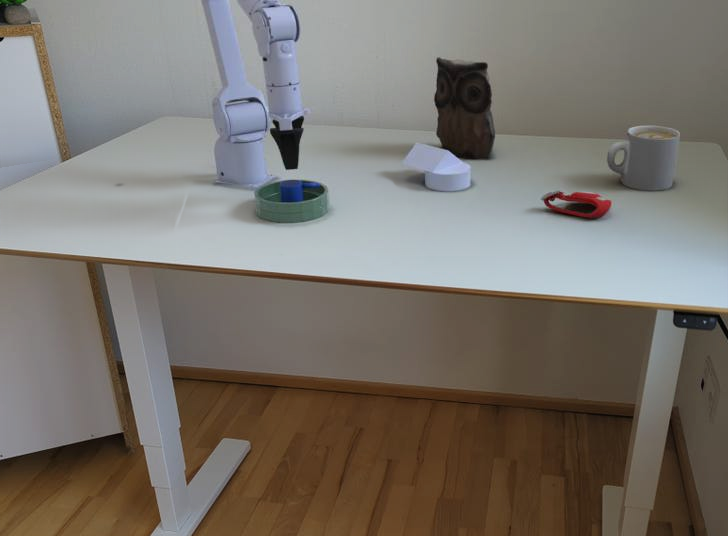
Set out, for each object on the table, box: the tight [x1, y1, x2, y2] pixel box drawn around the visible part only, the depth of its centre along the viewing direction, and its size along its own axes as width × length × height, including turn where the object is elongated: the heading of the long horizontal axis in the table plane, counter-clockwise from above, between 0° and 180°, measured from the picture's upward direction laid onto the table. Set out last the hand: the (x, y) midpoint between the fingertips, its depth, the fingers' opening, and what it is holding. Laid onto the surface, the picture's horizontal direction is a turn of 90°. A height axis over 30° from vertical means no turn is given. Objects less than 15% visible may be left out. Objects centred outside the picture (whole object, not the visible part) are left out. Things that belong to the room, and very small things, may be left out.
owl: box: [433, 56, 496, 160], centre depth 172 cm, size 13×13×20 cm
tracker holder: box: [540, 189, 612, 219], centre depth 144 cm, size 12×4×10 cm
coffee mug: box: [606, 125, 681, 192], centre depth 156 cm, size 13×10×10 cm
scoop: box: [280, 179, 320, 203], centre depth 144 cm, size 7×4×5 cm, turn 98°
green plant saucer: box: [253, 179, 330, 224], centre depth 145 cm, size 13×13×4 cm
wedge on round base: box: [401, 141, 472, 192], centre depth 158 cm, size 9×7×13 cm
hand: (292, 163), depth 141 cm, fingers open, 7 cm apart
